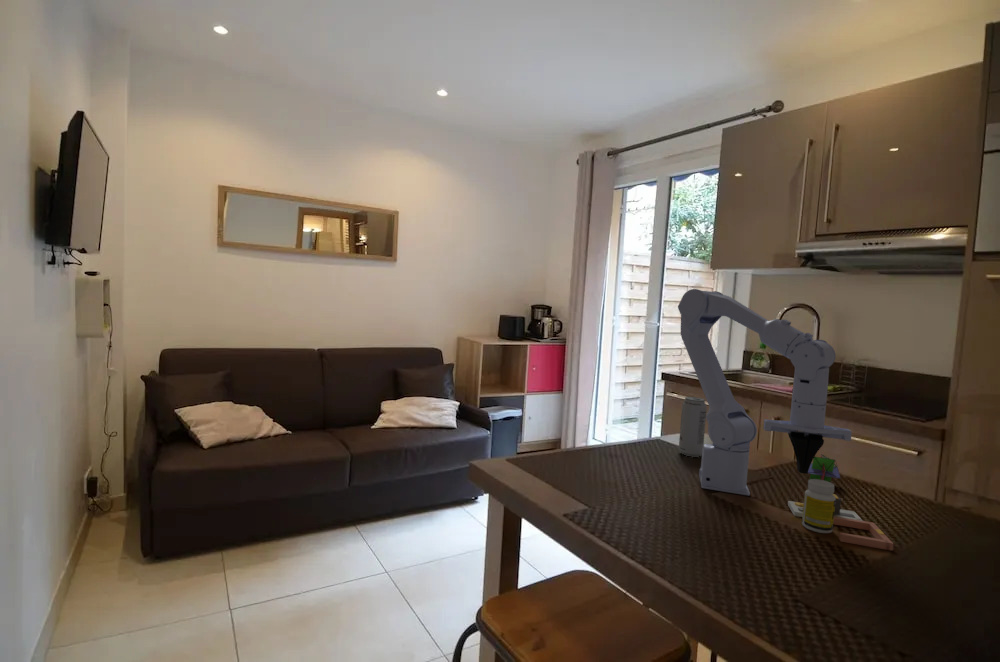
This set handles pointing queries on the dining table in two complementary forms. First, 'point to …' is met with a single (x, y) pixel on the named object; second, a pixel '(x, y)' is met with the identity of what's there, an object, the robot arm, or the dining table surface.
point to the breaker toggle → (837, 504)
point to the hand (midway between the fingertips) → (802, 471)
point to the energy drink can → (692, 426)
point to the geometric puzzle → (823, 469)
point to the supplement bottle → (819, 506)
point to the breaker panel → (798, 511)
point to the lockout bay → (877, 542)
